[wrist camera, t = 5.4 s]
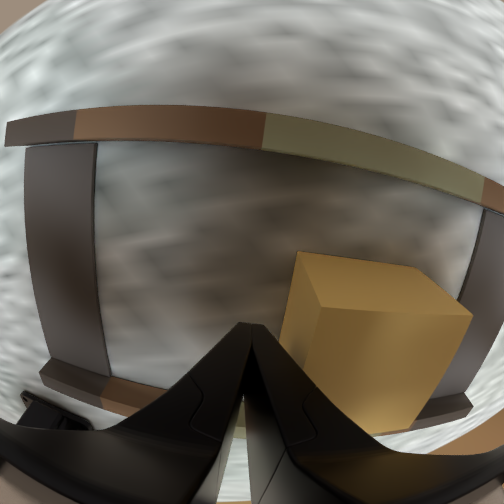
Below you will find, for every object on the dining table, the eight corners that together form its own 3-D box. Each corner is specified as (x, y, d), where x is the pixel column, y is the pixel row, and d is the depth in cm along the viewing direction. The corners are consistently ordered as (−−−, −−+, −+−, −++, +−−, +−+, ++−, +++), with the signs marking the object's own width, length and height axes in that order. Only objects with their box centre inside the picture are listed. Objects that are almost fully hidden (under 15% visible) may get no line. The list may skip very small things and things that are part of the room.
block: (377, 366, 11) (408, 428, 8) (273, 362, 11) (279, 437, 8) (415, 267, 10) (473, 315, 6) (297, 250, 10) (321, 306, 6)
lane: (455, 401, 13) (465, 417, 11) (57, 368, 12) (44, 385, 11) (534, 209, 9) (554, 216, 7) (31, 123, 8) (7, 122, 7)
